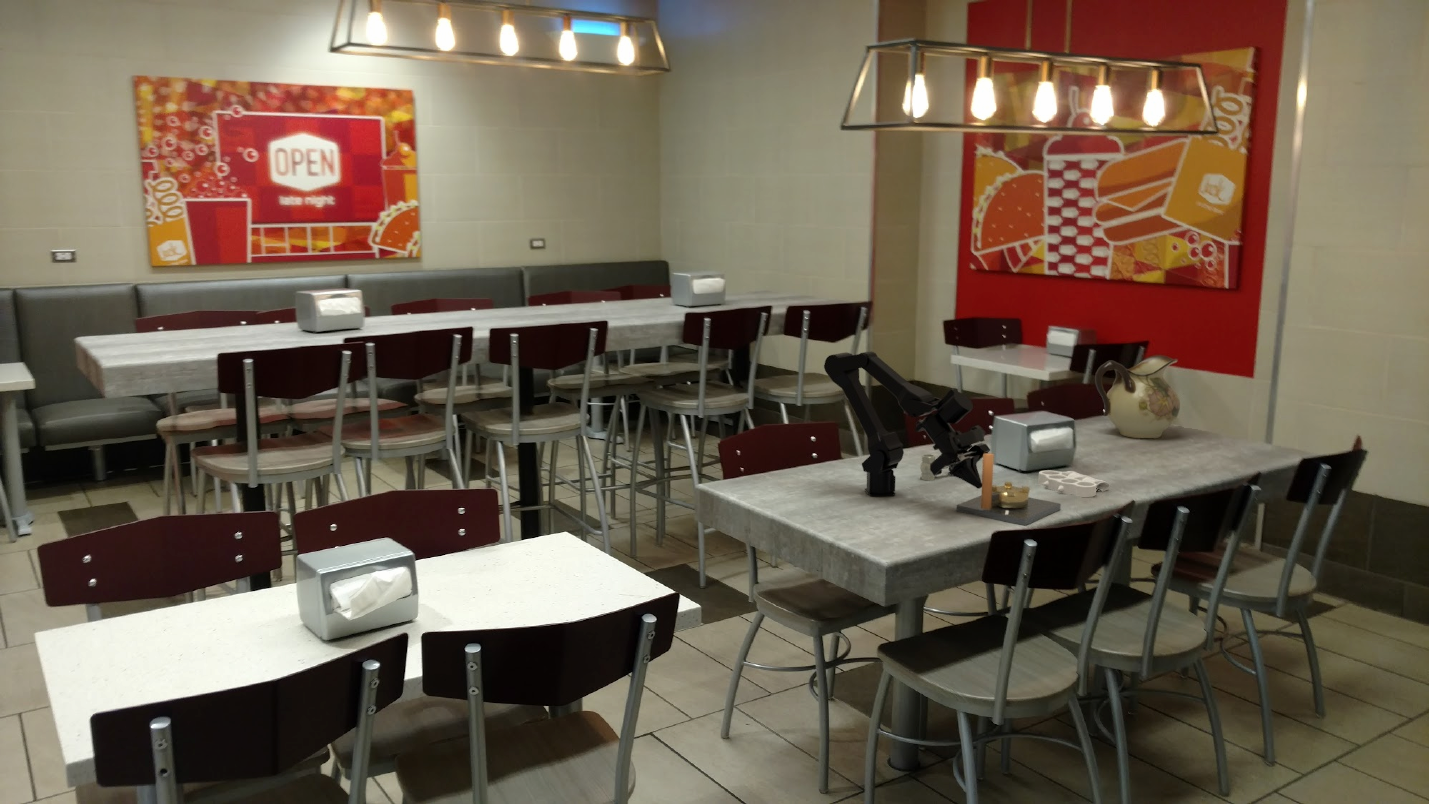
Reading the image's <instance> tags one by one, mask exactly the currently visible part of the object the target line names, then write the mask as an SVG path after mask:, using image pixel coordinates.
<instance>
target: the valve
mask: <svg viewBox="0 0 1429 804" xmlns="http://www.w3.org/2000/svg"><path fill="white" fill-rule="evenodd" d="M934 460H936V455H934V454H932V453H931V454H930V453H927V454H925V453H924V454H921V464H920V466H919V468H920V469H919V470H920V472H921V473H920V475H921V476H920V477H921V480H922V481H927V482H928V481H935V477H936V476H934V475H933V473H932V472H931V471H930V464H931V463H932V462H933V461H934ZM945 469H948V471H949V472H950V471H951V470H952V469H951V465H949V466H946V467H944V468H943V469H942V470H945Z"/></svg>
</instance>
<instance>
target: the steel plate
mask: <svg viewBox="0 0 1429 804" xmlns="http://www.w3.org/2000/svg"><path fill="white" fill-rule="evenodd" d="M1060 510H1061V503H1060V502H1054V501H1049V500H1043V499H1039V498H1033V497H1029V496H1028V506H1026V507H1023V508H1003V507H998V506H994V505H992V504H991V509H983V508H981V495H979V496H976V497H974V498H971V499H968V500H966V501H963V502H961V503H958V504H956V512H959V513H963V514H969V515H973V516H978V517H983V518H988V519H991V520H992V519H993V520H997V521H1002V522H1007V523H1010V524H1011V523H1012V524H1016V525H1020V526H1025V527H1026V526H1027V525H1030V524H1031V523H1034V522H1036V521H1038V520H1040V519H1043V518H1045V517H1047V516H1049V515H1052V514H1054V513H1056V512H1058V511H1060ZM1055 511H1056V512H1055Z"/></svg>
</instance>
